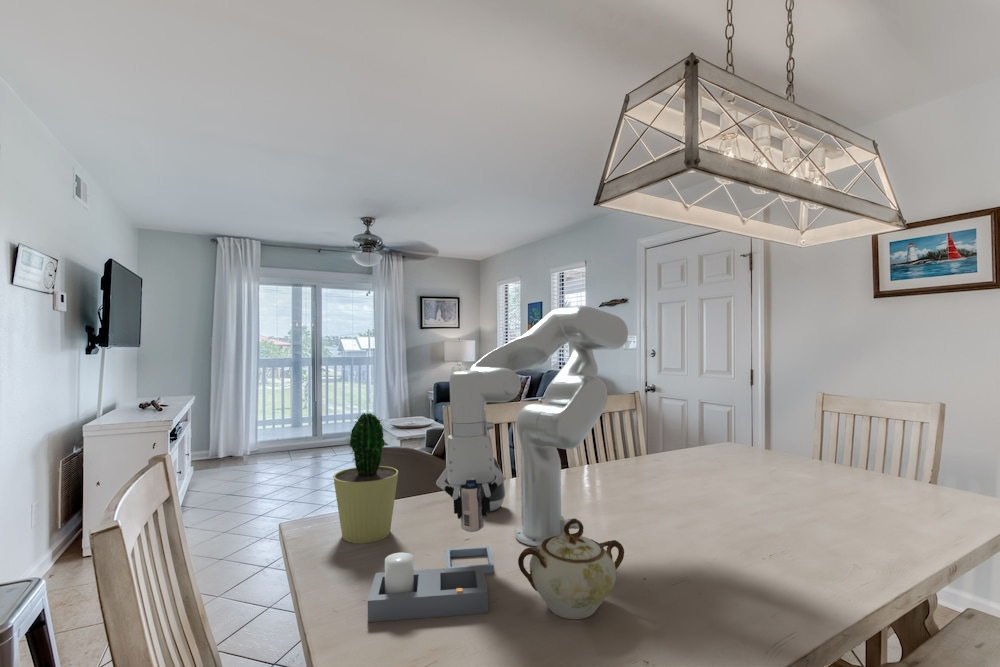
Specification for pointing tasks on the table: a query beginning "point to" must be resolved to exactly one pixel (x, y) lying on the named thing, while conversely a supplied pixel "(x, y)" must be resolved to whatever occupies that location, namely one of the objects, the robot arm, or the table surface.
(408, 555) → the two-slot holder block
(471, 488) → the beer can
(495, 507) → the pump dispenser
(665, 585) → the table surface
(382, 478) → the potted cactus
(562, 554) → the sugar bowl
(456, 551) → the hollow square frame
